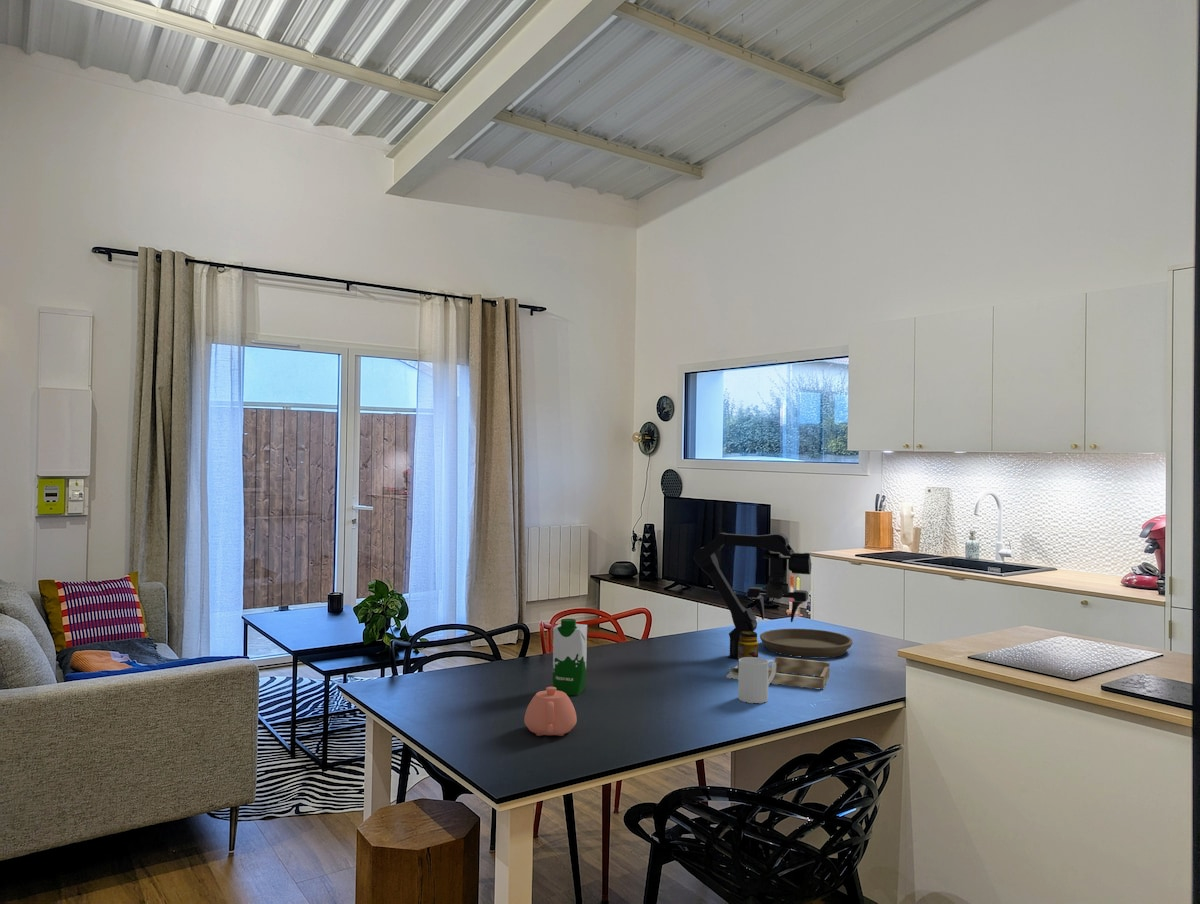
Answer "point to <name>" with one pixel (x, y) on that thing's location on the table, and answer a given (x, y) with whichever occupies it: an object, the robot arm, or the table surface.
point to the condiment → (746, 647)
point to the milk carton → (569, 656)
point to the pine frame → (800, 672)
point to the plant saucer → (806, 642)
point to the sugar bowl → (550, 713)
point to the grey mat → (732, 675)
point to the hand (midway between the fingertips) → (777, 620)
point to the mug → (754, 679)
